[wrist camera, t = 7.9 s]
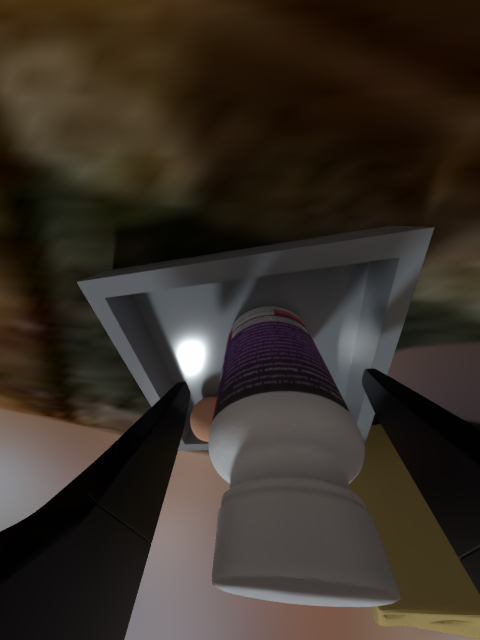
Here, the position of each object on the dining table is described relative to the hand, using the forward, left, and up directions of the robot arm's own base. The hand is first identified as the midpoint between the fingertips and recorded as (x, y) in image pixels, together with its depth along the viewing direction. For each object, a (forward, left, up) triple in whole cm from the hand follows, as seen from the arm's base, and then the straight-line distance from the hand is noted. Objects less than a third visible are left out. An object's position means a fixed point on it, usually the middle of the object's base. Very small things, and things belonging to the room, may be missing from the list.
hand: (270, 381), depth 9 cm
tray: (+1, +2, -4) cm, 5 cm away
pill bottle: (0, 0, -4) cm, 4 cm away
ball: (+5, +6, -4) cm, 9 cm away
